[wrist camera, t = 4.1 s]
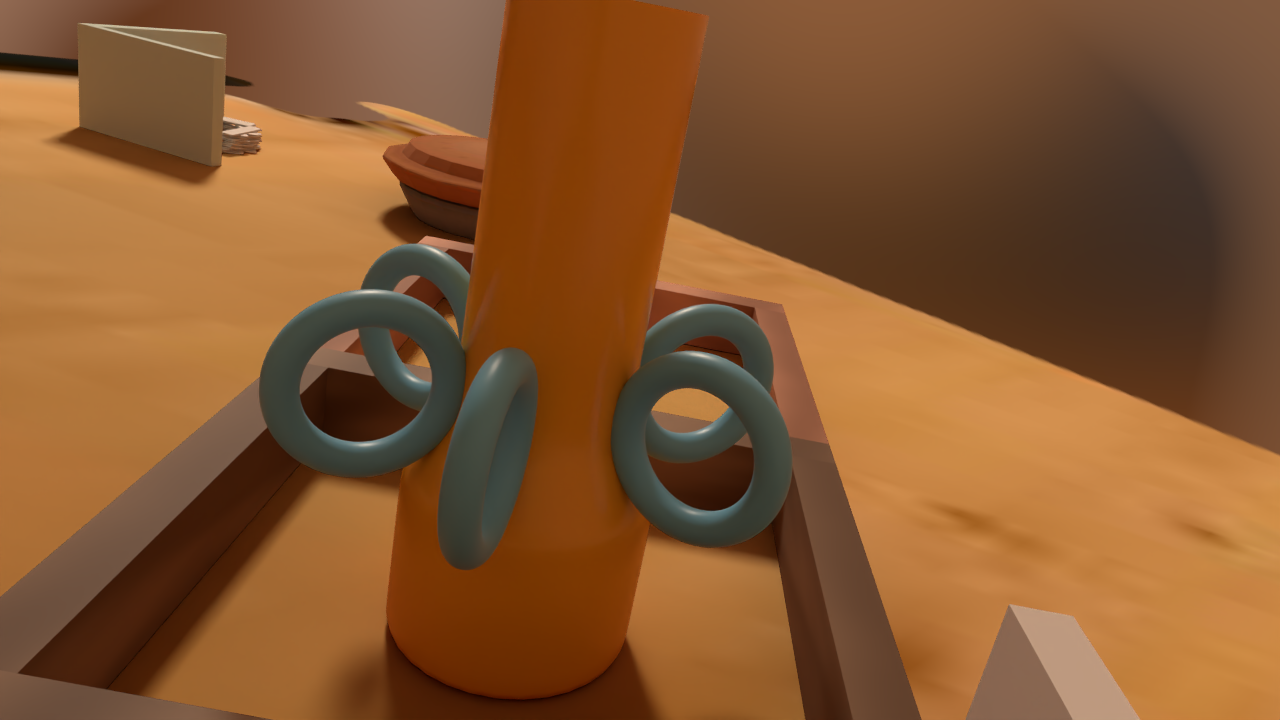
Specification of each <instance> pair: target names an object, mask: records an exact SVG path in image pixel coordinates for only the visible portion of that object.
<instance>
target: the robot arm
mask: <svg viewBox="0 0 1280 720" xmlns="http://www.w3.org/2000/svg"><path fill="white" fill-rule="evenodd" d="M966 720H1140V719H1139V717H1138V715H1137V714H1136V712H1135V711H1134V709H1133V708H1132V706H1131V705H1130V703H1129V702H1128V700H1127V698H1126V697H1125V695H1124V694H1123V692H1122V691H1121V689H1120V688H1119V686H1118V685H1117V683H1116V681H1115V680H1114V678H1113V677H1112V675H1111V674H1110V672H1109V671H1108V669H1107V668H1106V666H1105V664H1104V663H1103V661H1102V660H1101V658H1100V657H1099V655H1098V654H1097V652H1096V651H1095V649H1094V647H1093V646H1092V644H1091V643H1090V641H1089V640H1088V638H1087V637H1086V635H1085V634H1084V632H1083V631H1082V629H1081V627H1080V626H1079V624H1078V623H1077V621H1076V620H1075V618H1074V617H1073V616H1070V615H1064V614H1059V613H1054V612H1048V611H1043V610H1038V609H1032V608H1027V607H1022V606H1016V605H1011V604H1009V606H1008V609H1007V611H1006V614H1005V617H1004V619H1003V622H1002V624H1001V627H1000V630H999V632H998V635H997V638H996V640H995V643H994V646H993V648H992V651H991V654H990V656H989V659H988V661H987V664H986V667H985V669H984V672H983V675H982V677H981V680H980V683H979V685H978V688H977V691H976V693H975V696H974V699H973V701H972V704H971V706H970V709H969V712H968V714H967V717H966Z"/></svg>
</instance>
